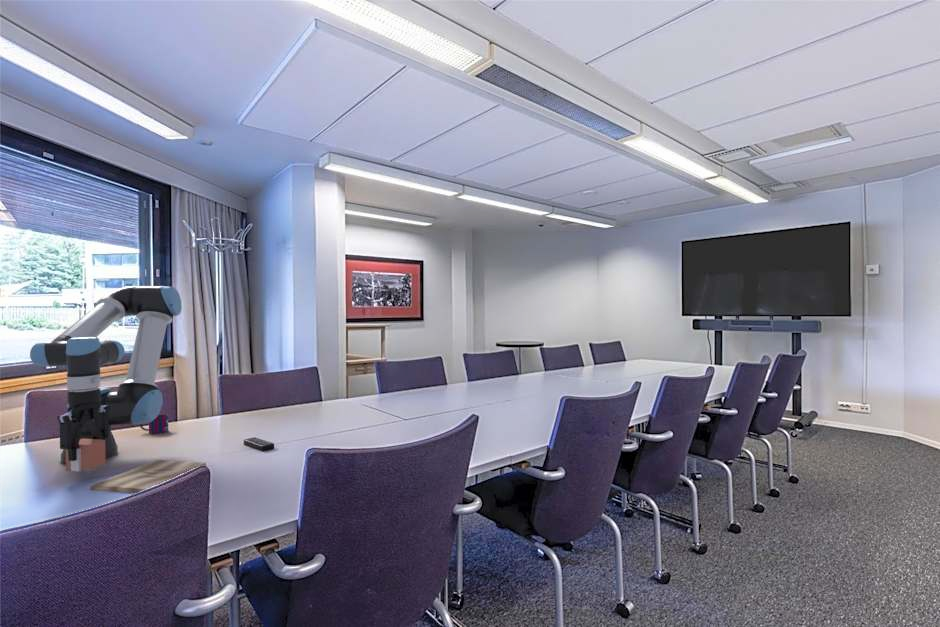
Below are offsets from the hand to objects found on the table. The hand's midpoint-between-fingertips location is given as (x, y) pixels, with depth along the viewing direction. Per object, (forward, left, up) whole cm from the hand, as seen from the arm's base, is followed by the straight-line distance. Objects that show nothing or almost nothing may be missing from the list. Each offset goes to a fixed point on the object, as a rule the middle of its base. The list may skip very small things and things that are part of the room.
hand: (86, 467), depth 133 cm
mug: (-27, +50, -4) cm, 57 cm away
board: (+17, +5, -4) cm, 19 cm away
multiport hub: (+30, +39, -5) cm, 49 cm away
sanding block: (0, 0, 0) cm, 0 cm away
